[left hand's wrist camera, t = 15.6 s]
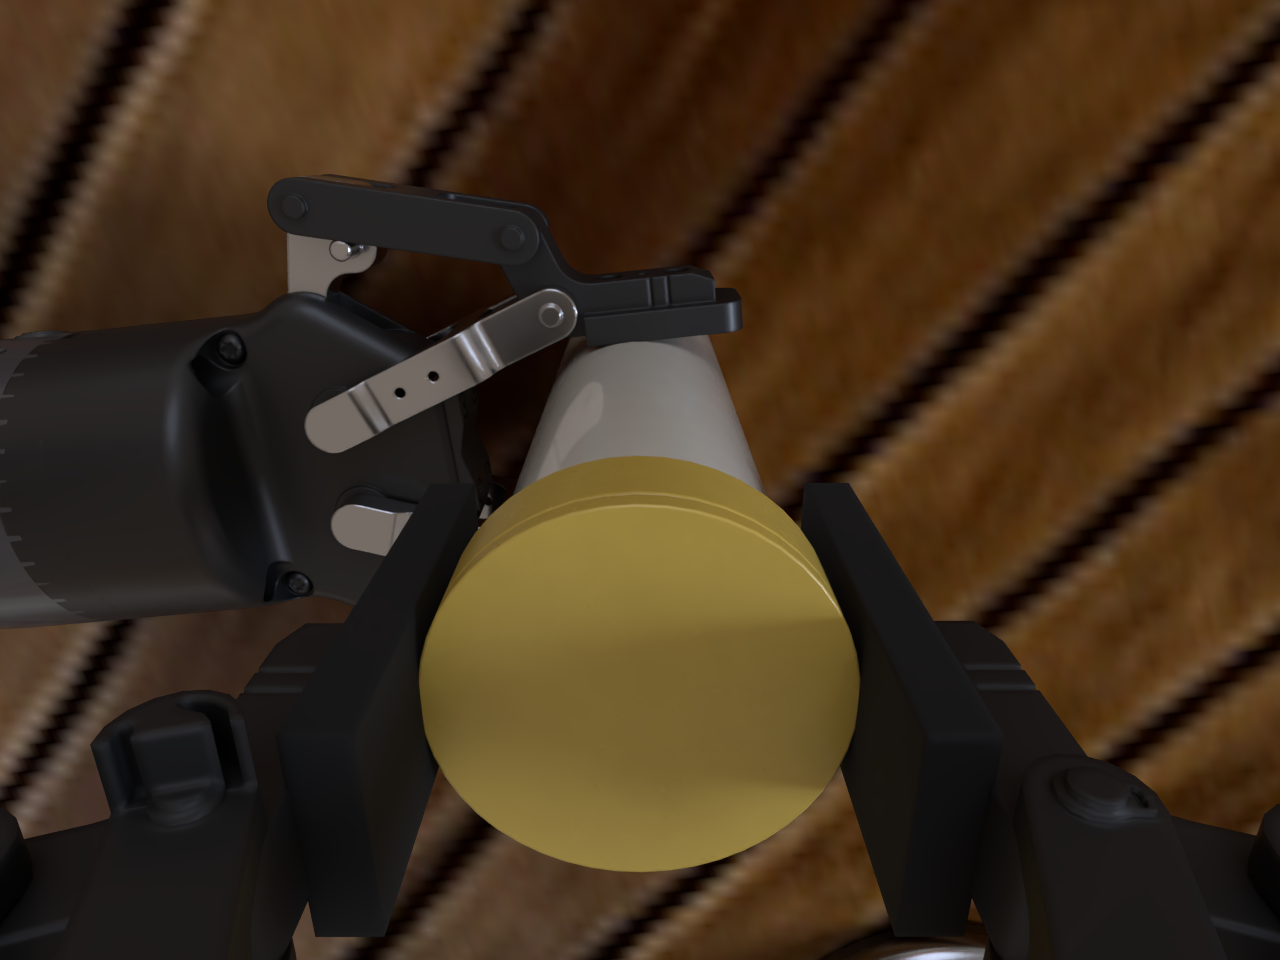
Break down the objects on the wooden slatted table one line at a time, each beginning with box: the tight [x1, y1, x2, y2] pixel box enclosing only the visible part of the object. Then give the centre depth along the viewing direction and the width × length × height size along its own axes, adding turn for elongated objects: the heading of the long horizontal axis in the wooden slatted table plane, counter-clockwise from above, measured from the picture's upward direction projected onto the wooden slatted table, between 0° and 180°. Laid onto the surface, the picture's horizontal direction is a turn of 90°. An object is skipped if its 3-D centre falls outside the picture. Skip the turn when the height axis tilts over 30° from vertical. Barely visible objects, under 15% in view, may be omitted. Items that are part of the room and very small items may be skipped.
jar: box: [513, 335, 767, 497], centre depth 19 cm, size 5×5×17 cm
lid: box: [419, 456, 860, 872], centre depth 11 cm, size 6×6×2 cm
